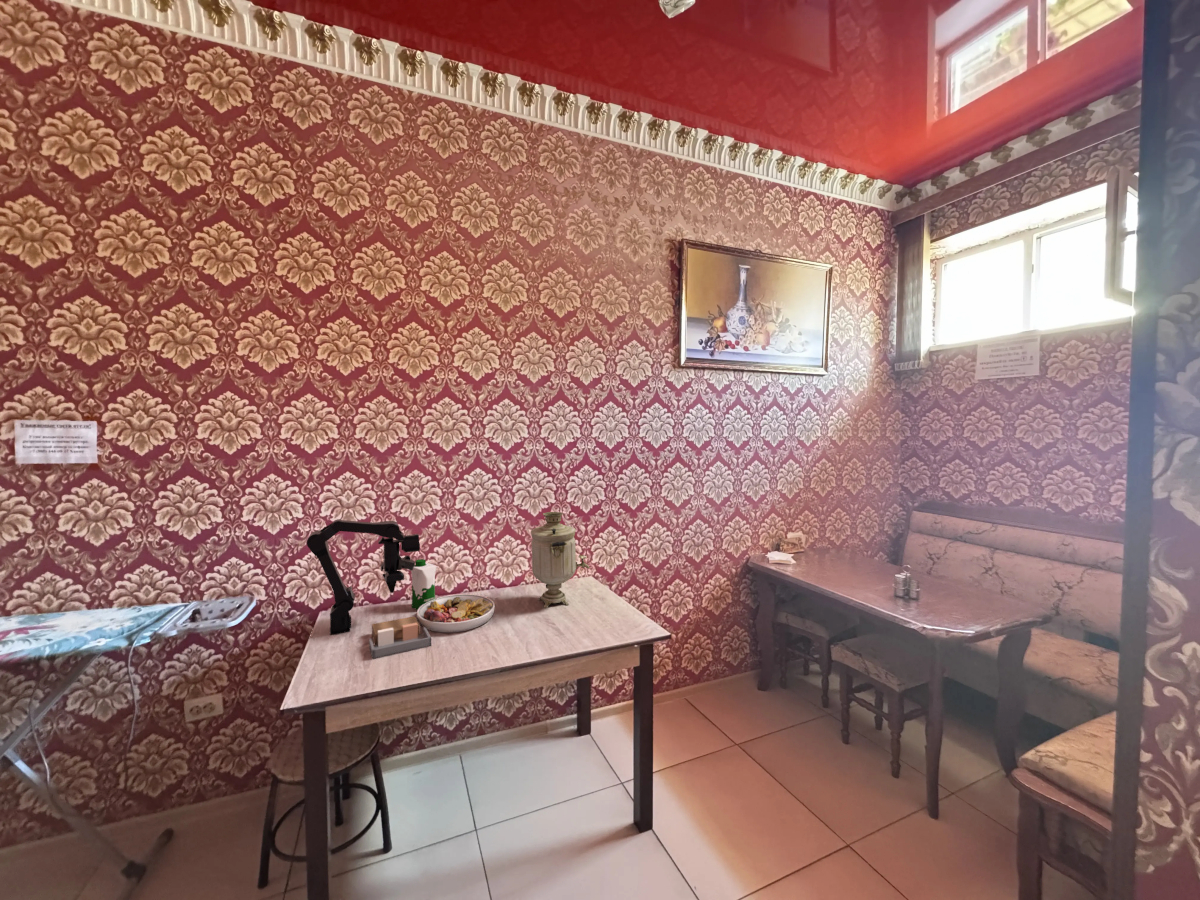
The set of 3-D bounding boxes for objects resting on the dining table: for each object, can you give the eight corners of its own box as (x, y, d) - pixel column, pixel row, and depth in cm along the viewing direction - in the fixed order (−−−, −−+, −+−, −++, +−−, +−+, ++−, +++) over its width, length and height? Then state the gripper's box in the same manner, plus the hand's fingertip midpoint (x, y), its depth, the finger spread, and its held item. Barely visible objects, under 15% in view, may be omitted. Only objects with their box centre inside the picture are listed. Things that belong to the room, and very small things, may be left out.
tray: (372, 659, 156) (372, 650, 156) (369, 647, 165) (368, 638, 164) (431, 646, 166) (431, 637, 166) (425, 635, 175) (425, 627, 174)
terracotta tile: (402, 638, 170) (403, 641, 168) (402, 625, 170) (403, 627, 168) (416, 635, 173) (417, 637, 171) (416, 622, 172) (417, 624, 171)
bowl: (449, 601, 209) (449, 584, 208) (508, 611, 199) (508, 593, 198) (399, 628, 181) (399, 608, 180) (465, 641, 170) (465, 620, 170)
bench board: (375, 645, 166) (375, 634, 165) (372, 634, 174) (372, 624, 174) (419, 636, 174) (419, 625, 173) (414, 626, 182) (414, 616, 182)
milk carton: (426, 601, 207) (425, 557, 206) (439, 606, 202) (439, 560, 201) (408, 608, 200) (408, 561, 199) (421, 613, 195) (421, 565, 194)
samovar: (587, 616, 193) (588, 521, 191) (524, 615, 194) (525, 520, 192) (590, 591, 223) (591, 508, 221) (535, 590, 224) (536, 507, 221)
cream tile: (377, 644, 166) (378, 646, 164) (377, 630, 165) (378, 632, 164) (392, 641, 168) (393, 643, 167) (392, 627, 168) (393, 629, 166)
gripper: (417, 556, 180) (418, 596, 181) (409, 545, 196) (409, 582, 197) (386, 560, 174) (386, 601, 175) (379, 549, 190) (380, 586, 191)
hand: (392, 592), depth 184 cm, fingers closed
